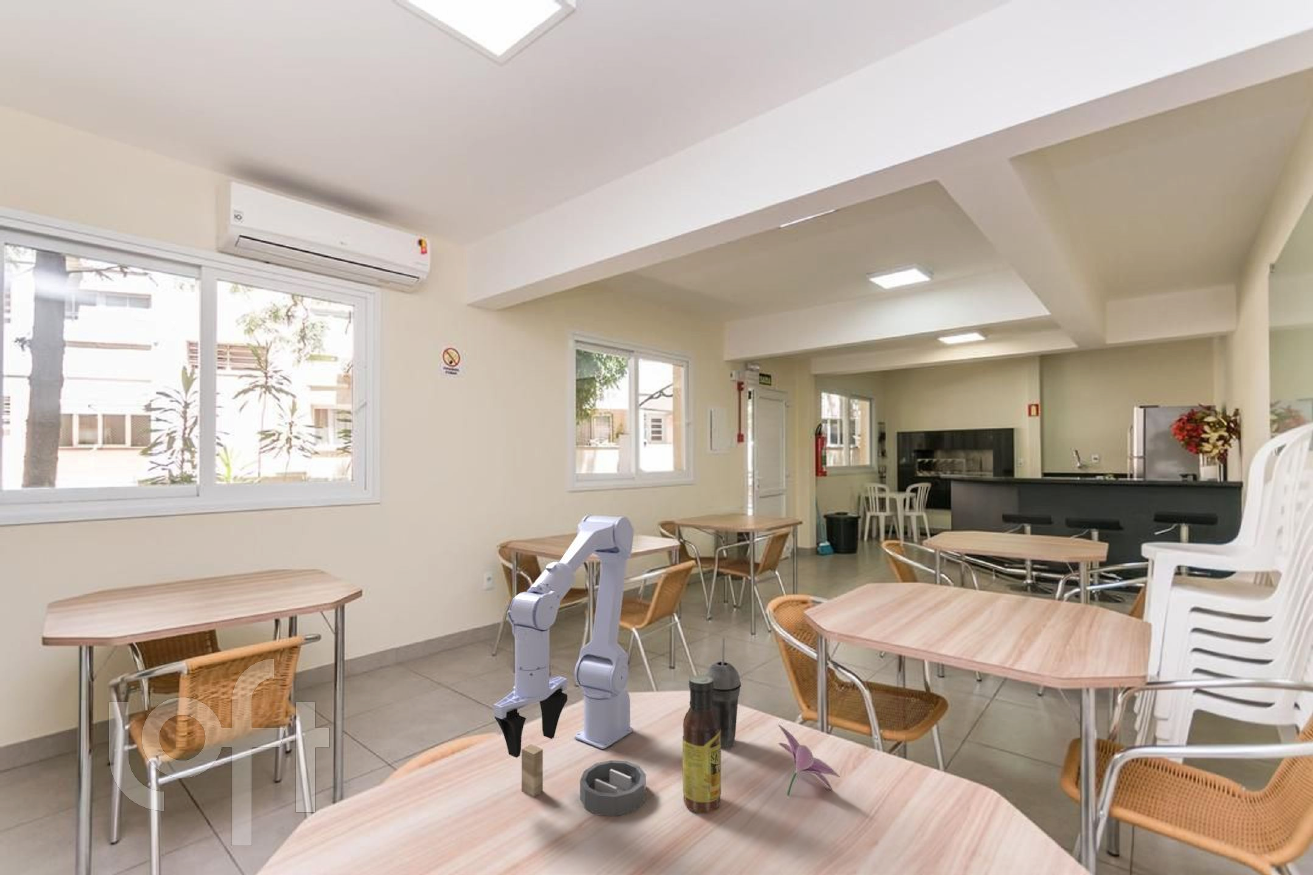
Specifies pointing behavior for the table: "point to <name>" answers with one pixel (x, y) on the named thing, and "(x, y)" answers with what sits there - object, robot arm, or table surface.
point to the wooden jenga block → (532, 770)
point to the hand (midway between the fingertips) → (531, 745)
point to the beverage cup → (725, 698)
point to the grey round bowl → (613, 788)
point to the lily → (806, 760)
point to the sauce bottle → (701, 748)
